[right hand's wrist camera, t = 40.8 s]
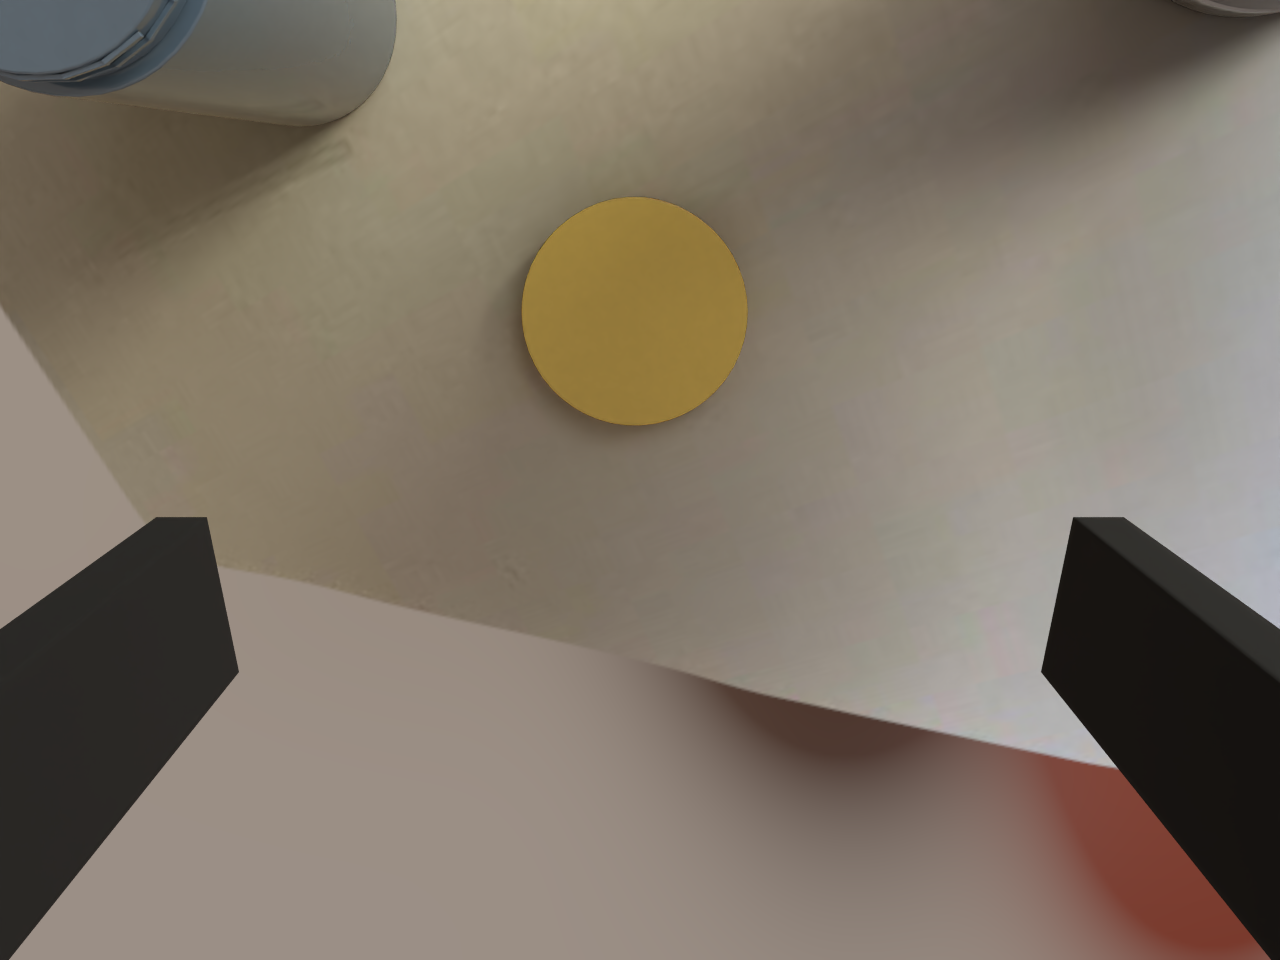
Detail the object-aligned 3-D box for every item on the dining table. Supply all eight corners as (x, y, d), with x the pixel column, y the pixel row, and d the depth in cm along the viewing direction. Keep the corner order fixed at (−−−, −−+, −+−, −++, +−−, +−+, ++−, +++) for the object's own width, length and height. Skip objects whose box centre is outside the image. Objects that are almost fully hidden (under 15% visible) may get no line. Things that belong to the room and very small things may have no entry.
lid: (679, 450, 41) (681, 460, 39) (491, 358, 39) (485, 365, 38) (784, 263, 38) (790, 266, 36) (583, 154, 36) (581, 153, 34)
